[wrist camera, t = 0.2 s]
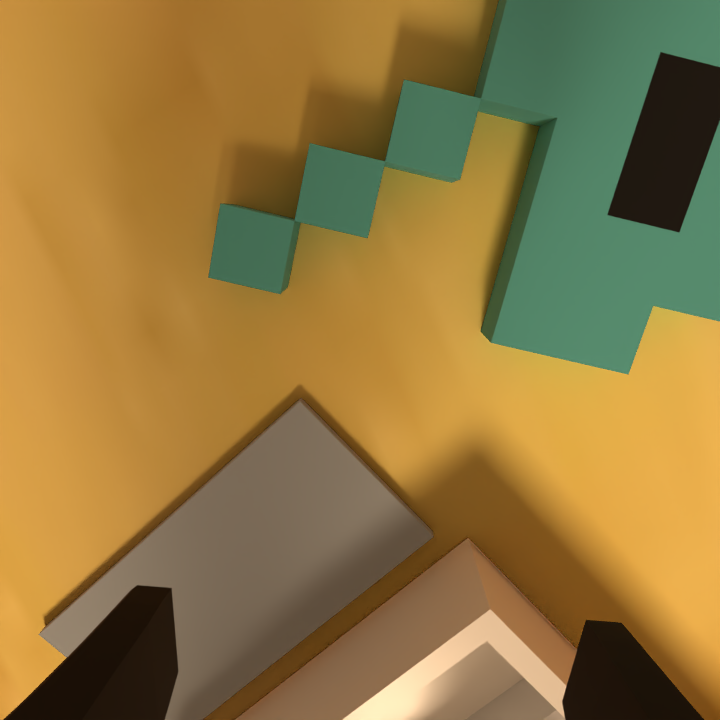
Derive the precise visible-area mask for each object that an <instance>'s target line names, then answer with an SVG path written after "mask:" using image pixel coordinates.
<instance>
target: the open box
mask: <svg viewBox="0 0 720 720" xmlns="http://www.w3.org/2000/svg"><path fill="white" fill-rule="evenodd" d="M576 652H577V649H576V648H575V647H574V646H573V645H572V644H571V643H570V642H569V641H568V640H567V639H566V638H565V637H564V636H563V635H562V634H561V633H560V632H559V631H558V630H557V628H556V627H555V626H554V625H553V624H552V623H551V622H550V621H549V620H548V619H547V618H546V617H545V616H544V615H543V614H542V613H541V612H540V611H539V610H538V609H537V608H536V607H535V606H534V605H533V604H532V603H531V602H530V601H529V600H528V599H527V598H526V597H525V596H524V595H523V594H522V593H521V591H520V590H519V589H518V588H517V587H516V586H515V585H514V584H513V583H512V582H511V581H510V580H509V579H508V578H507V577H506V576H505V575H504V574H503V573H502V572H501V571H500V570H499V569H498V568H497V567H496V566H495V565H494V564H493V563H492V562H491V561H490V560H489V559H488V558H487V557H486V556H485V554H484V553H483V552H482V551H481V550H480V549H479V548H478V547H477V546H476V545H475V544H474V543H473V542H472V541H471V540H470V539H469V538H467V539H466V540H465V541H463V542H462V543H461V544H459V545H458V546H457V547H456V548H454V549H453V550H452V551H450V552H449V553H448V554H447V555H445V556H444V557H443V558H441V559H440V560H439V561H438V562H436V563H435V564H434V565H432V566H431V567H430V568H429V569H427V570H426V571H425V572H424V573H422V574H421V575H420V576H418V577H417V578H416V579H415V580H413V581H412V582H411V583H409V584H408V585H407V586H406V587H404V588H403V589H402V590H400V591H399V592H398V593H397V594H395V595H394V596H393V597H391V598H390V599H389V600H388V601H386V602H385V603H384V604H383V605H381V606H380V607H379V608H377V609H376V610H375V611H374V612H372V613H371V614H370V615H368V616H367V617H366V618H365V619H363V620H362V621H361V622H359V623H358V624H357V625H356V626H354V627H353V628H352V629H350V630H349V631H348V632H347V633H345V634H344V635H343V636H342V637H340V638H339V639H338V640H336V641H335V642H334V643H333V644H331V645H330V646H329V647H327V648H326V649H325V650H324V651H322V652H321V653H320V654H318V655H317V656H316V657H315V658H313V659H312V660H311V661H309V662H308V663H307V664H306V665H304V666H303V667H302V668H301V669H299V670H298V671H297V672H295V673H294V674H293V675H292V676H290V677H289V678H288V679H286V680H285V681H284V682H283V683H281V684H280V685H279V686H277V687H276V688H275V689H274V690H272V691H271V692H270V693H268V694H267V695H266V696H265V697H263V698H262V699H261V700H260V701H258V702H257V703H256V704H254V705H253V706H252V707H251V708H249V709H248V710H247V711H245V712H244V713H243V714H242V715H240V716H239V717H238V718H236V719H235V720H565V715H564V710H563V705H562V700H563V696H564V693H565V689H566V686H567V683H568V679H569V676H570V673H571V669H572V666H573V662H574V659H575V656H576Z"/></svg>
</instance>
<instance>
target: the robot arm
mask: <svg viewBox="0 0 720 720" xmlns="http://www.w3.org/2000/svg"><path fill="white" fill-rule="evenodd" d="M177 675H178V659H177V647H176V635H175V623H174V610H173V598H172V588H168V587H155V586H142V585H137V586H135V587H134V588H133V589H131V590H130V591H129V592H128V594H127V595H126V596H125V597H124V598H123V599H122V600H121V601H120V602H119V603H118V604H117V605H116V607H115V608H114V609H113V610H112V611H111V612H110V613H109V614H108V615H107V616H106V617H105V618H104V619H103V620H102V622H101V623H100V624H99V625H98V626H97V627H96V628H95V629H94V630H93V631H92V632H91V633H90V634H89V635H88V636H87V637H86V638H85V640H84V641H83V642H82V643H81V644H80V645H79V646H78V647H77V648H76V649H75V650H74V651H73V652H72V653H71V654H70V655H69V656H68V657H67V658H66V659H65V660H64V661H63V662H62V663H61V664H60V665H59V666H58V667H57V668H56V669H55V670H54V671H53V672H52V673H51V674H50V675H49V676H48V677H47V678H46V679H45V680H44V681H43V682H42V683H41V684H40V685H39V686H38V687H37V688H36V689H35V690H34V691H33V692H32V693H31V694H30V695H29V696H28V697H27V698H26V699H25V700H24V701H23V702H22V703H21V704H20V705H19V706H18V707H17V708H15V709H14V710H13V711H12V712H11V713H10V714H9V715H8V716H7V717H6V718H5V719H4V720H165V717H166V714H167V711H168V707H169V704H170V700H171V697H172V693H173V689H174V686H175V682H176V679H177ZM562 705H563V710H564V715H565V720H704V719H703V718H702V717H701V716H700V714H699V713H698V712H697V711H696V710H695V709H694V708H693V706H692V705H691V704H690V703H689V702H688V701H687V699H686V698H685V697H684V696H683V695H682V694H681V692H680V691H679V690H678V689H677V688H676V687H675V685H674V684H673V683H672V682H671V681H670V680H669V678H668V677H667V676H666V675H665V674H664V672H663V671H662V670H661V669H660V668H659V667H658V665H657V664H656V663H655V662H654V661H653V659H652V658H651V657H650V656H649V655H648V654H647V652H646V651H645V650H644V649H643V648H642V646H641V645H640V644H639V643H638V642H637V640H636V639H635V638H634V637H633V636H632V635H631V633H630V632H629V631H628V630H627V629H626V628H625V626H624V625H623V624H622V623H618V622H605V621H592V620H586V622H585V625H584V628H583V632H582V635H581V639H580V642H579V645H578V649H577V652H576V656H575V659H574V662H573V666H572V669H571V673H570V676H569V679H568V683H567V686H566V689H565V693H564V696H563V700H562Z"/></svg>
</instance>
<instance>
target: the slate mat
mask: <svg viewBox="0 0 720 720" xmlns="http://www.w3.org/2000/svg"><path fill="white" fill-rule="evenodd" d="M431 538H433V532H432V530H431V529H430V528H429V527H428V526H427V525H426V524H425V523H424V522H423V521H422V520H421V519H420V518H419V517H418V516H417V515H416V514H415V513H414V512H413V511H412V510H411V509H410V508H409V507H408V506H407V505H406V504H405V503H404V502H403V501H402V500H401V499H400V498H399V497H398V496H397V495H396V494H395V493H394V492H393V491H392V490H391V488H390V487H389V486H388V485H387V484H386V483H385V482H384V481H383V480H382V479H381V478H380V477H379V476H378V475H377V474H376V473H375V472H374V471H373V470H372V469H371V468H370V467H369V466H368V465H367V464H366V463H365V462H364V461H363V460H362V459H361V458H360V457H359V456H358V455H357V454H356V453H355V452H354V451H353V450H352V449H351V448H350V447H349V446H348V445H347V444H346V443H345V442H344V441H343V440H342V439H341V438H340V437H339V436H338V435H337V434H336V433H335V432H334V431H333V430H332V429H331V428H330V427H329V426H328V425H327V424H326V423H325V422H324V421H323V420H322V419H321V417H320V416H319V415H318V414H317V413H316V412H315V411H314V410H313V409H312V408H311V407H310V406H309V405H308V404H307V403H306V402H305V401H304V400H303V399H302V398H300V399H299V400H298V401H297V402H296V403H294V404H293V405H292V406H291V407H290V408H289V409H288V410H287V411H286V412H284V413H283V414H282V415H281V416H280V417H279V418H278V419H277V420H275V421H274V422H273V423H272V424H271V425H270V426H269V427H268V428H267V429H265V430H264V431H263V432H262V433H261V434H260V435H259V436H258V437H256V438H255V439H254V440H253V441H252V442H251V443H250V444H249V445H248V446H246V447H245V448H244V449H243V450H242V451H241V452H240V453H239V454H237V455H236V456H235V457H234V458H233V459H232V460H231V461H230V462H229V463H227V464H226V465H225V466H224V467H223V468H222V469H221V470H220V471H218V472H217V473H216V474H215V475H214V476H213V477H212V478H211V479H210V480H208V481H207V482H206V483H205V484H204V485H203V486H202V487H201V488H199V489H198V490H197V491H196V492H195V493H194V494H193V495H192V496H191V497H189V498H188V499H187V500H186V501H185V502H184V503H183V504H182V505H180V506H179V507H178V508H177V509H176V510H175V511H174V512H173V513H172V514H170V515H169V516H168V517H167V518H166V519H165V520H164V521H163V522H161V523H160V524H159V525H158V526H157V527H156V528H155V529H154V530H153V531H151V532H150V533H149V534H148V535H147V536H146V537H145V538H144V539H142V540H141V541H140V542H139V543H138V544H137V545H136V546H135V547H134V548H132V549H131V550H130V551H129V552H128V553H127V554H126V555H125V556H124V557H122V558H121V559H120V560H119V561H118V562H117V563H116V564H115V565H113V566H112V567H111V568H110V569H109V570H108V571H107V572H106V573H105V574H103V575H102V576H101V577H100V578H99V579H98V580H97V581H96V582H94V583H93V584H92V585H91V586H90V587H89V588H88V589H87V590H86V591H84V592H83V593H82V594H81V595H80V596H79V597H78V598H77V599H75V600H74V601H73V602H72V603H71V604H70V605H69V606H68V607H67V608H65V609H64V610H63V611H62V612H61V613H60V614H59V615H58V616H56V617H55V618H54V619H53V620H52V621H51V622H50V623H49V624H48V625H46V626H45V627H44V628H43V630H42V631H41V632H40V634H39V635H40V636H41V637H42V638H44V639H45V640H46V641H47V642H48V643H50V644H51V645H52V646H53V647H55V648H56V649H57V650H58V651H59V652H61V653H62V654H63V655H64V656H66V657H68V656H69V655H70V654H71V653H72V652H73V651H74V650H75V649H76V648H77V647H78V646H79V645H80V644H81V643H82V642H83V641H84V640H85V638H86V637H87V636H88V635H89V634H90V633H91V632H92V631H93V630H94V629H95V628H96V627H97V626H98V625H99V624H100V623H101V622H102V620H103V619H104V618H105V617H106V616H107V615H108V614H109V613H110V612H111V611H112V610H113V609H114V608H115V607H116V605H117V604H118V603H119V602H120V601H121V600H122V599H123V598H124V597H125V596H126V595H127V594H128V592H129V591H130V590H131V589H133V588H134V587H135V586H137V585H142V586H155V587H168V588H172V598H173V610H174V623H175V635H176V647H177V659H178V675H177V679H176V682H175V686H174V689H173V693H172V697H171V700H170V704H169V707H168V711H167V714H166V717H165V720H203V719H204V718H205V717H207V716H208V715H209V714H210V713H212V712H213V711H214V710H215V709H217V708H218V707H219V706H220V705H222V704H223V703H224V702H226V701H227V700H228V699H229V698H231V697H232V696H233V695H234V694H236V693H237V692H238V691H239V690H241V689H242V688H243V687H244V686H246V685H247V684H248V683H250V682H251V681H252V680H253V679H255V678H256V677H257V676H258V675H260V674H261V673H262V672H263V671H265V670H266V669H267V668H268V667H270V666H271V665H272V664H274V663H275V662H276V661H277V660H279V659H280V658H281V657H282V656H284V655H285V654H286V653H287V652H289V651H290V650H291V649H292V648H294V647H295V646H296V645H298V644H299V643H300V642H301V641H303V640H304V639H305V638H306V637H308V636H309V635H310V634H311V633H313V632H314V631H315V630H316V629H318V628H319V627H320V626H322V625H323V624H324V623H325V622H327V621H328V620H329V619H330V618H332V617H333V616H334V615H335V614H337V613H338V612H339V611H340V610H342V609H343V608H344V607H346V606H347V605H348V604H349V603H351V602H352V601H353V600H354V599H356V598H357V597H358V596H359V595H361V594H362V593H363V592H364V591H366V590H367V589H368V588H370V587H371V586H372V585H373V584H375V583H376V582H377V581H378V580H380V579H381V578H382V577H383V576H385V575H386V574H387V573H388V572H390V571H391V570H392V569H394V568H395V567H396V566H397V565H399V564H400V563H401V562H402V561H404V560H405V559H406V558H407V557H409V556H410V555H411V554H412V553H414V552H415V551H416V550H418V549H419V548H420V547H421V546H423V545H424V544H425V543H426V542H428V541H429V540H430V539H431Z"/></svg>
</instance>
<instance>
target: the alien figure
mask: <svg viewBox="0 0 720 720" xmlns="http://www.w3.org/2000/svg"><path fill="white" fill-rule="evenodd" d="M478 111H479V112H483V113H487V114H491V115H495V116H499V117H503V118H507V119H511V120H515V121H519V122H523V123H527V124H531V125H535V126H540V127H539V131H538V134H537V138H536V141H535V145H534V148H533V152H532V155H531V159H530V162H529V166H528V169H527V173H526V176H525V179H524V183H523V186H522V190H521V193H520V197H519V200H518V204H517V207H516V211H515V214H514V218H513V221H512V225H511V228H510V232H509V235H508V239H507V242H506V245H505V249H504V252H503V256H502V259H501V263H500V266H499V270H498V273H497V277H496V280H495V284H494V287H493V291H492V294H491V298H490V301H489V305H488V308H487V311H486V315H485V318H484V322H483V325H482V329H481V332H482V334H483V335H484V336H485V337H486V338H487V339H488V340H489V341H490V342H491V343H494V344H499V345H503V346H507V347H512V348H516V349H520V350H525V351H529V352H533V353H538V354H542V355H546V356H551V357H555V358H559V359H564V360H568V361H572V362H577V363H581V364H585V365H590V366H594V367H598V368H603V369H607V370H611V371H616V372H620V373H625V374H629V371H630V369H631V366H632V363H633V360H634V357H635V355H636V352H637V349H638V346H639V344H640V341H641V338H642V335H643V332H644V330H645V327H646V324H647V321H648V319H649V316H650V313H651V310H652V307H653V306H657V307H661V308H665V309H669V310H673V311H678V312H682V313H686V314H690V315H695V316H699V317H703V318H707V319H712V320H716V321H720V0H499V2H498V5H497V9H496V13H495V17H494V21H493V25H492V29H491V33H490V36H489V40H488V44H487V48H486V52H485V56H484V60H483V64H482V67H481V71H480V75H479V79H478V83H477V87H476V91H475V94H474V97H473V96H469V95H465V94H461V93H457V92H453V91H449V90H445V89H441V88H437V87H433V86H429V85H425V84H421V83H417V82H413V81H409V80H405V79H404V82H403V86H402V89H401V93H400V98H399V102H398V107H397V111H396V115H395V120H394V124H393V128H392V133H391V137H390V142H389V146H388V150H387V155H386V159H385V161H382V160H377V159H373V158H369V157H365V156H361V155H357V154H353V153H348V152H344V151H340V150H336V149H332V148H328V147H324V146H320V145H315V144H311V143H310V145H309V150H308V155H307V160H306V165H305V170H304V175H303V180H302V185H301V190H300V195H299V201H298V206H297V211H296V216H295V219H293V218H289V217H285V216H281V215H276V214H272V213H268V212H264V211H260V210H255V209H251V208H247V207H243V206H238V205H234V204H221V203H220V209H219V215H218V221H217V228H216V234H215V240H214V246H213V252H212V258H211V264H210V270H209V276H208V278H213V279H217V280H221V281H226V282H230V283H234V284H239V285H243V286H247V287H252V288H256V289H260V290H265V291H269V292H273V293H278V294H281V293H282V292H283V291H284V290H285V289H286V288H287V287H288V284H289V279H290V274H291V269H292V264H293V259H294V254H295V249H296V244H297V239H298V234H299V229H300V224H301V223H305V224H309V225H314V226H318V227H322V228H326V229H331V230H335V231H339V232H343V233H347V234H352V235H356V236H360V237H364V238H368V235H369V231H370V226H371V222H372V217H373V213H374V209H375V204H376V200H377V196H378V191H379V187H380V183H381V178H382V174H383V169H384V166H385V167H389V168H393V169H397V170H402V171H406V172H410V173H414V174H418V175H422V176H426V177H430V178H435V179H439V180H443V181H447V182H451V183H452V182H455V181H457V180H460V178H461V174H462V170H463V166H464V163H465V159H466V155H467V151H468V147H469V143H470V140H471V136H472V132H473V128H474V124H475V120H476V117H477V113H478Z"/></svg>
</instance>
